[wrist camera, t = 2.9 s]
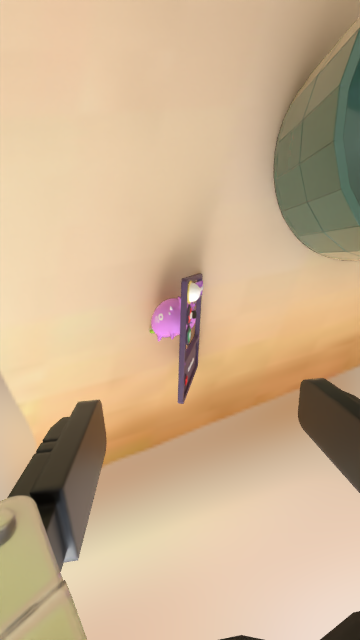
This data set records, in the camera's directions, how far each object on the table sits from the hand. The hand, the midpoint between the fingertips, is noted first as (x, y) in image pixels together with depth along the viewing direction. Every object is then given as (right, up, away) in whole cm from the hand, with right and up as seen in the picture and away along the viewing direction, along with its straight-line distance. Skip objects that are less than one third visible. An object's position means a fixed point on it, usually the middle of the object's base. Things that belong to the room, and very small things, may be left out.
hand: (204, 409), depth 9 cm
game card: (-1, +3, +13) cm, 13 cm away
